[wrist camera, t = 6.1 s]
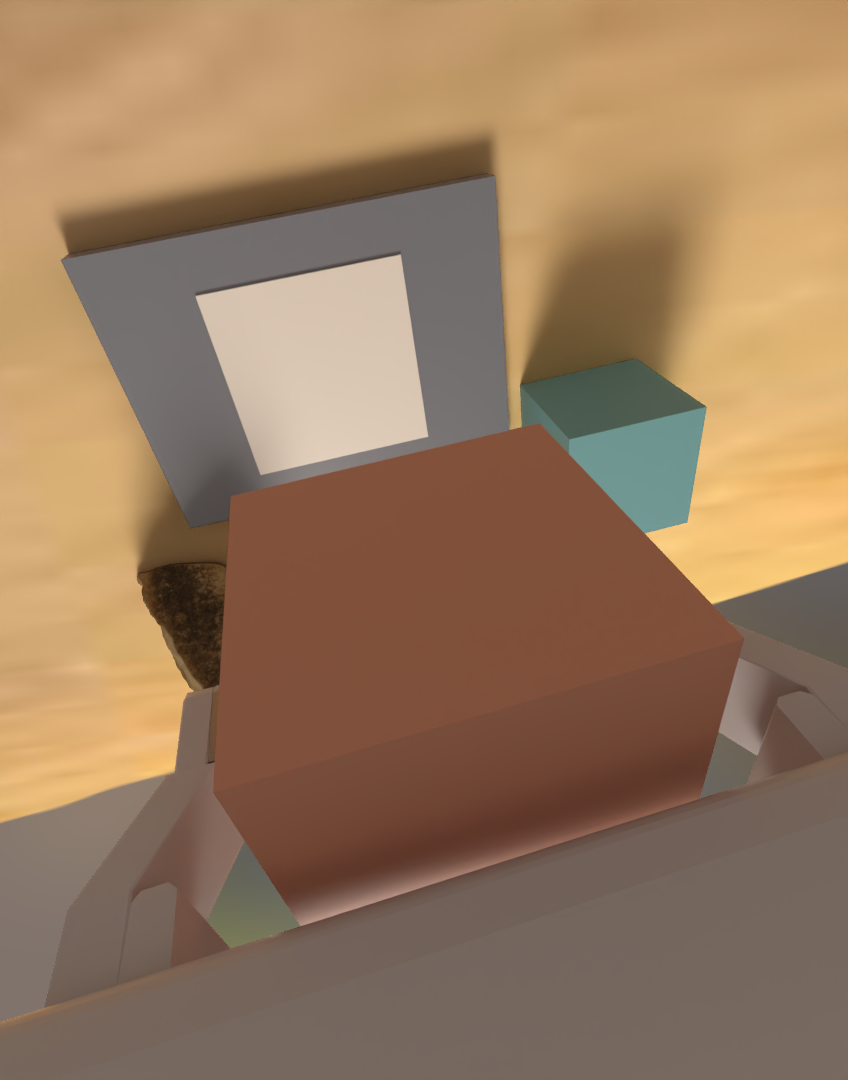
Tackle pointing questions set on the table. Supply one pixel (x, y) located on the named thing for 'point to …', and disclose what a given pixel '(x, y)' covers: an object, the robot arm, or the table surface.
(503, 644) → the terracotta block
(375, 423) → the grey flat plate
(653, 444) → the teal block
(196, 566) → the rock
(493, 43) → the table surface
